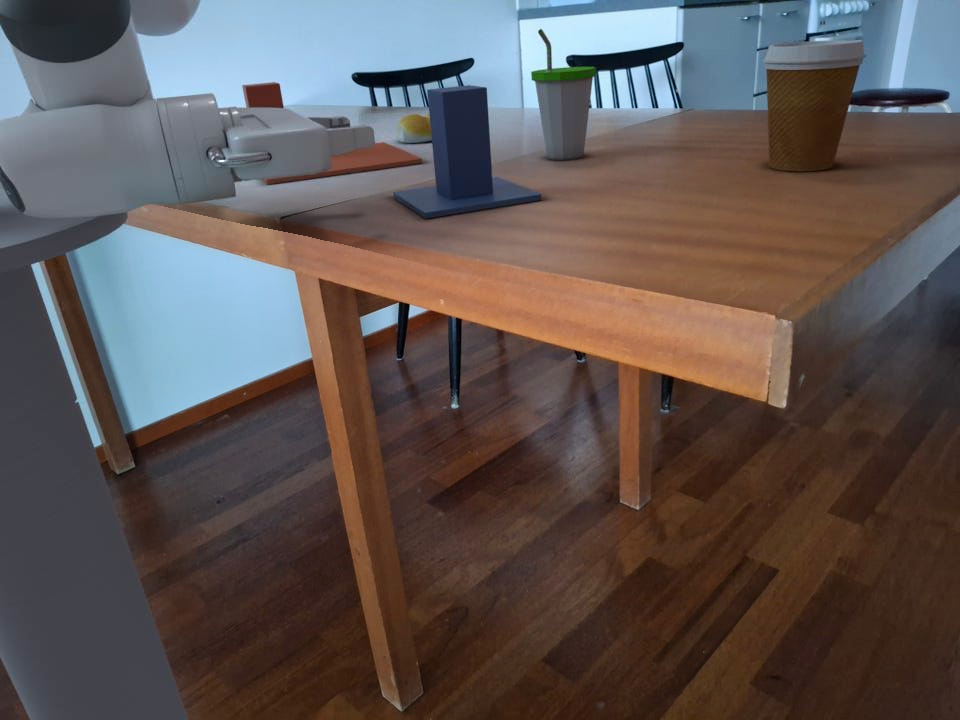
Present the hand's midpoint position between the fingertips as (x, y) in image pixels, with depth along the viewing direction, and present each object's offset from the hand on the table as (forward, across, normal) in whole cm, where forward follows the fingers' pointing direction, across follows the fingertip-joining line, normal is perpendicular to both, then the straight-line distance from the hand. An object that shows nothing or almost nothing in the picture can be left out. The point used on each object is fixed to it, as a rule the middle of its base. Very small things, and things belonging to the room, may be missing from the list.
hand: (360, 130), depth 67 cm
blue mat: (+10, 0, +8) cm, 13 cm away
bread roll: (+20, +44, +8) cm, 49 cm away
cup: (+29, +14, +8) cm, 33 cm away
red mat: (+3, +33, +8) cm, 34 cm away
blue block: (+10, 0, +7) cm, 12 cm away
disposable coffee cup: (+45, -9, +8) cm, 46 cm away
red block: (-4, +39, +7) cm, 40 cm away
